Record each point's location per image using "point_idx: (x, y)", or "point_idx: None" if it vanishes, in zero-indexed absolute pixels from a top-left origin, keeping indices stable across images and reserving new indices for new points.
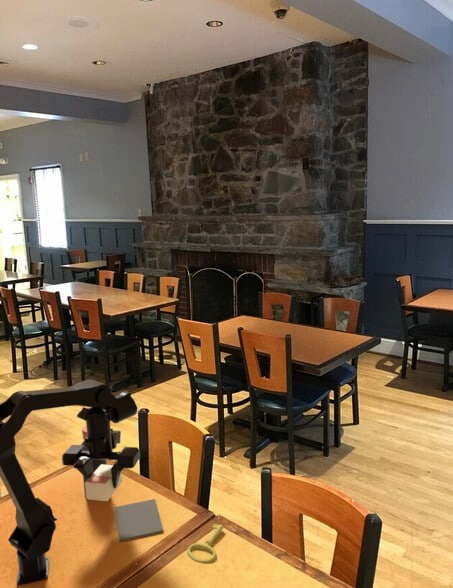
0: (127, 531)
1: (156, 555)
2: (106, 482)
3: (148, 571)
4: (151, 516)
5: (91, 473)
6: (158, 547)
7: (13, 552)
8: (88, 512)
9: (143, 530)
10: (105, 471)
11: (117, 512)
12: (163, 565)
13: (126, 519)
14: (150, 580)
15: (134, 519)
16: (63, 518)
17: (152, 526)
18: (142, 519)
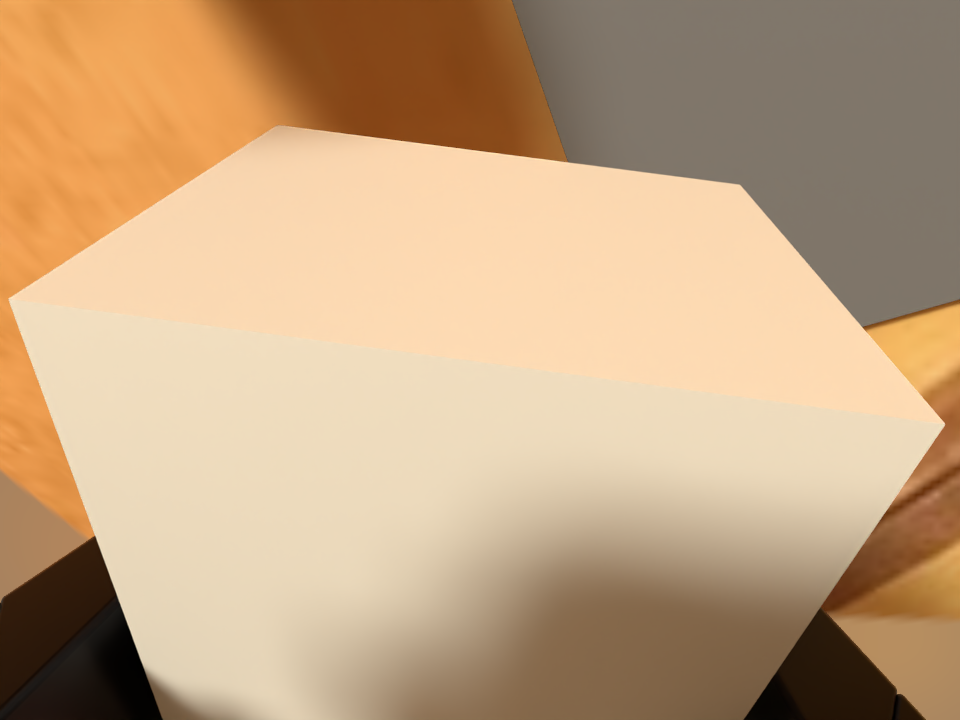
0: None
1: (917, 478)
2: None
3: (856, 568)
4: (938, 86)
5: (120, 706)
6: (941, 419)
7: (28, 457)
8: (222, 10)
9: (841, 290)
10: (438, 656)
11: (543, 30)
12: (952, 538)
13: (665, 148)
14: (864, 609)
15: (748, 143)
16: (54, 125)
17: (930, 239)
18: (834, 142)
